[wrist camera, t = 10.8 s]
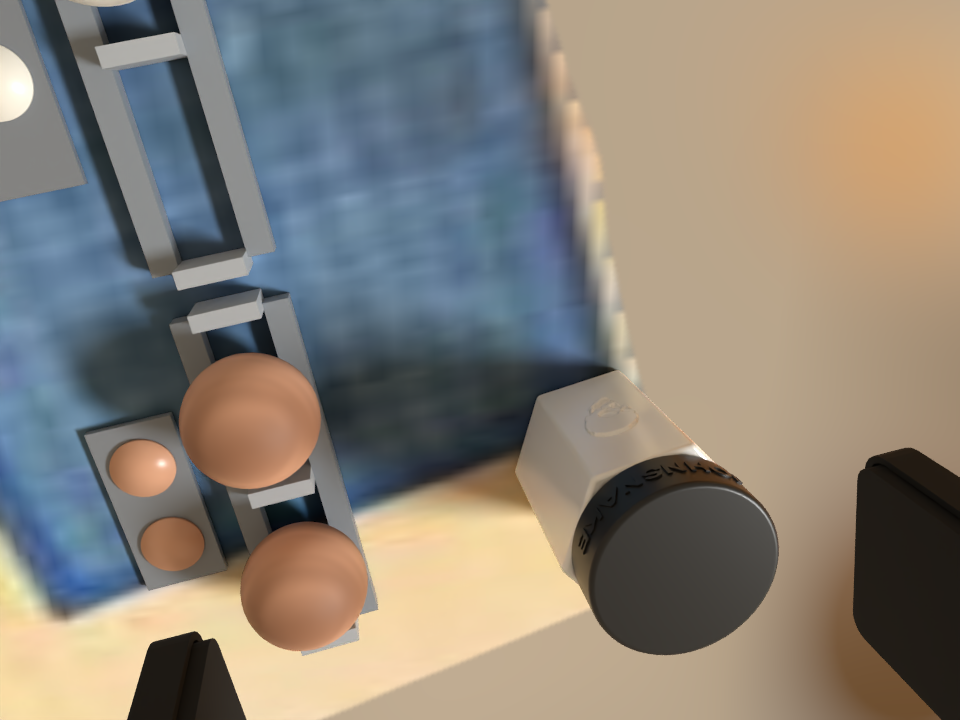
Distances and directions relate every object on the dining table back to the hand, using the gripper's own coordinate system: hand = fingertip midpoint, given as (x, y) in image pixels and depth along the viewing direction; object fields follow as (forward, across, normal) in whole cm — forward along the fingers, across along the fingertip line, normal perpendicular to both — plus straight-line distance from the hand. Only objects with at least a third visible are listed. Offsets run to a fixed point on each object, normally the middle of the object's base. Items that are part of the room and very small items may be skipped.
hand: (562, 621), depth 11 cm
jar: (+27, -8, +13) cm, 32 cm away
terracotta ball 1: (+27, +8, +6) cm, 29 cm away
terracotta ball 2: (+27, +8, +15) cm, 32 cm away
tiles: (+28, +14, +1) cm, 31 cm away
